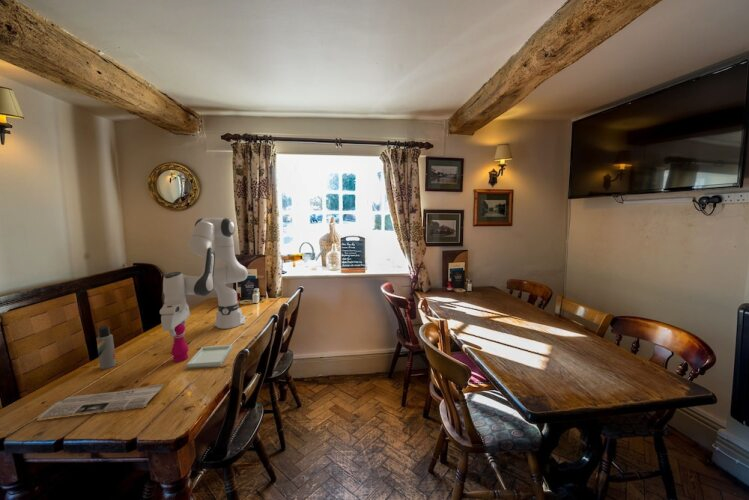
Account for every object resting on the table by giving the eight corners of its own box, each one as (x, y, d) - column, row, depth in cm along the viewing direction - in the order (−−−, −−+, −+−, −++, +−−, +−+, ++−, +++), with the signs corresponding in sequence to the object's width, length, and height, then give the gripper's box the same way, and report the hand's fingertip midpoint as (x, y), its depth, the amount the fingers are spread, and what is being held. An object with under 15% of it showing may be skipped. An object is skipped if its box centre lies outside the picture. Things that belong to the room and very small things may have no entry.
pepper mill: (180, 363, 144) (177, 324, 141) (168, 361, 145) (164, 323, 142) (192, 356, 151) (189, 319, 148) (180, 354, 152) (177, 318, 150)
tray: (202, 351, 156) (202, 346, 156) (232, 349, 158) (232, 344, 158) (187, 369, 138) (186, 364, 138) (220, 366, 141) (220, 361, 141)
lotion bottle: (115, 362, 145) (111, 323, 142) (116, 366, 141) (111, 326, 138) (100, 366, 141) (94, 326, 138) (100, 370, 137) (95, 330, 134)
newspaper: (37, 422, 104) (35, 413, 103) (65, 401, 116) (64, 392, 115) (150, 408, 112) (150, 399, 111) (166, 389, 124) (165, 381, 123)
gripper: (179, 299, 154) (181, 325, 155) (157, 312, 134) (160, 341, 135) (192, 299, 155) (194, 324, 156) (172, 311, 135) (175, 340, 136)
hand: (178, 332), depth 146 cm, fingers open, 8 cm apart
